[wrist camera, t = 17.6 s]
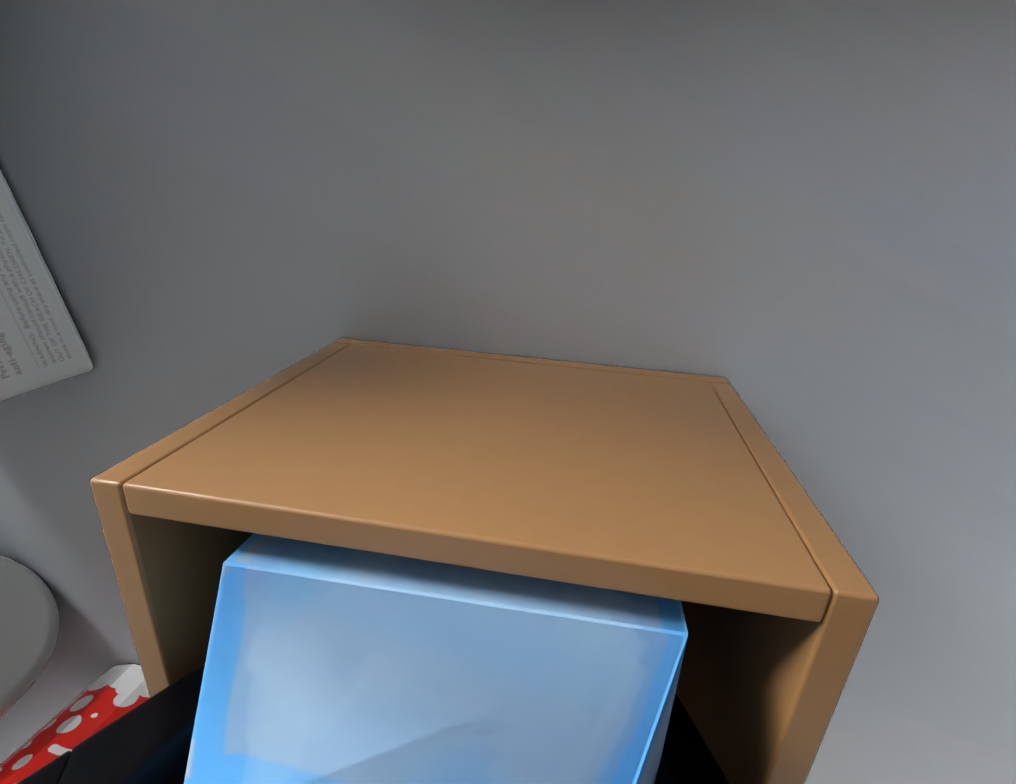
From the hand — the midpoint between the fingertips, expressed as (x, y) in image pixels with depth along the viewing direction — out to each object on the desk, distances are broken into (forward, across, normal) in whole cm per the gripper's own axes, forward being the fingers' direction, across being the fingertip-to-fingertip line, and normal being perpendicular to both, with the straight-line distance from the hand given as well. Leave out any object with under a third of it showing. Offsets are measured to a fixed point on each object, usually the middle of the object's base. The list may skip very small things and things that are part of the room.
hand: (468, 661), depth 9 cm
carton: (+6, 0, +2) cm, 6 cm away
